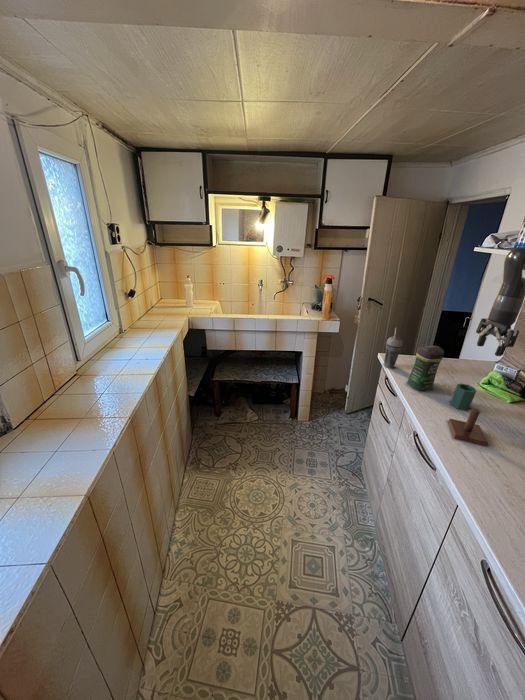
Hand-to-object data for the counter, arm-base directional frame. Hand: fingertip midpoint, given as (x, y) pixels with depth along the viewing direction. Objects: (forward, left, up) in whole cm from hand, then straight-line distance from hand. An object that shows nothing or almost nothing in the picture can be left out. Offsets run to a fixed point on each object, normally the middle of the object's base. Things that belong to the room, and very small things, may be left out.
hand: (488, 350), depth 104 cm
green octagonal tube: (+4, +6, -22) cm, 23 cm away
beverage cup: (+29, -18, -22) cm, 41 cm away
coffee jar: (+17, -3, -22) cm, 28 cm away
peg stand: (+6, +24, -22) cm, 33 cm away
